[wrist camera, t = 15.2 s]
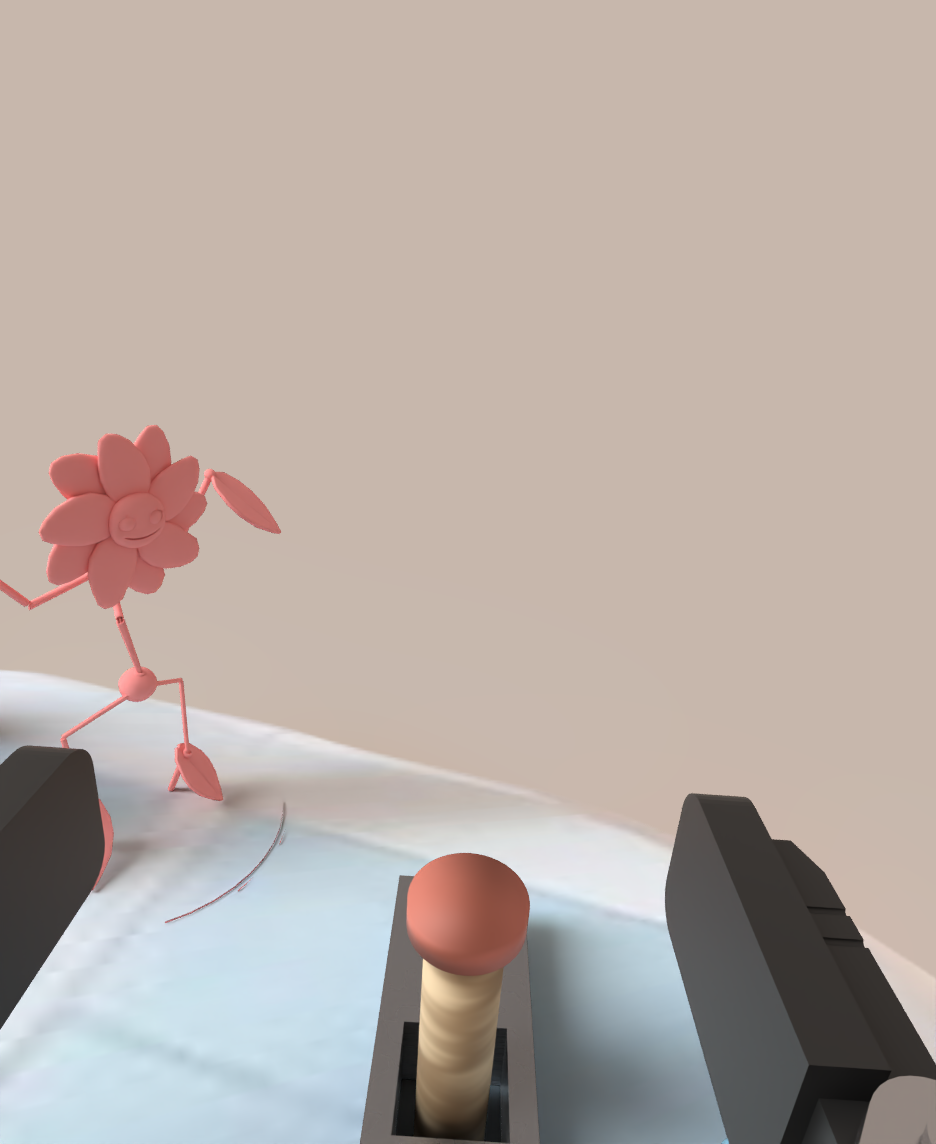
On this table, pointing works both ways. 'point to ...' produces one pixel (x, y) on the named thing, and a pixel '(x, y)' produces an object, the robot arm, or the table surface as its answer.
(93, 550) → the figurine
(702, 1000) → the robot arm
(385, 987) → the bar
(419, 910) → the oak pin
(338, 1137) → the table surface
